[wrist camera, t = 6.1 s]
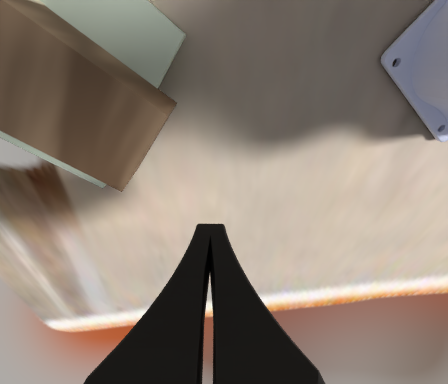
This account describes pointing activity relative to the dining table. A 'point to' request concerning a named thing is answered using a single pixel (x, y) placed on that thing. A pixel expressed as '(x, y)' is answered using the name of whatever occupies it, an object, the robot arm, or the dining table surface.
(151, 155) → the dining table surface
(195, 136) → the dining table surface
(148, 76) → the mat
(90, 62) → the walnut block
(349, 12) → the dining table surface
